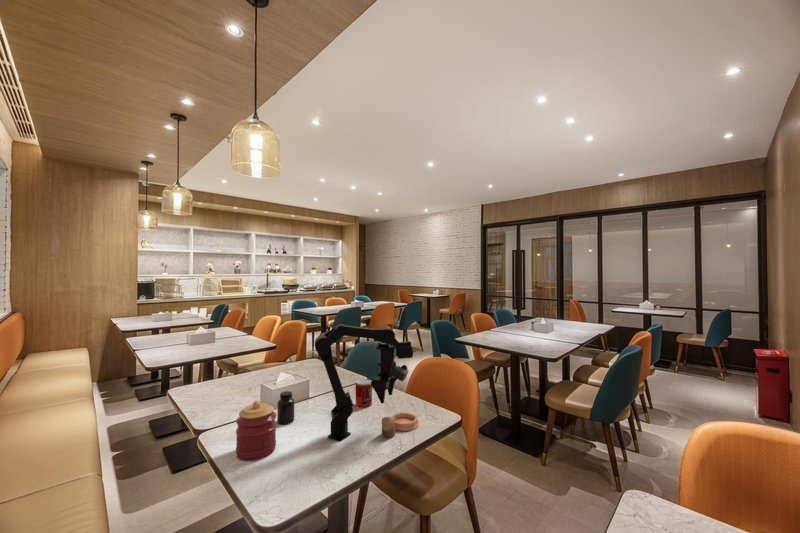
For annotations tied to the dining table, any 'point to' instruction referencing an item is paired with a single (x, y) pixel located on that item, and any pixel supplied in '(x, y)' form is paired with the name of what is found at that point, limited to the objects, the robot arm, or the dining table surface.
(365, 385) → the canned food
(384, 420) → the bead
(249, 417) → the canister
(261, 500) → the dining table surface
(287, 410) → the supplement bottle
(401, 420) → the dish
